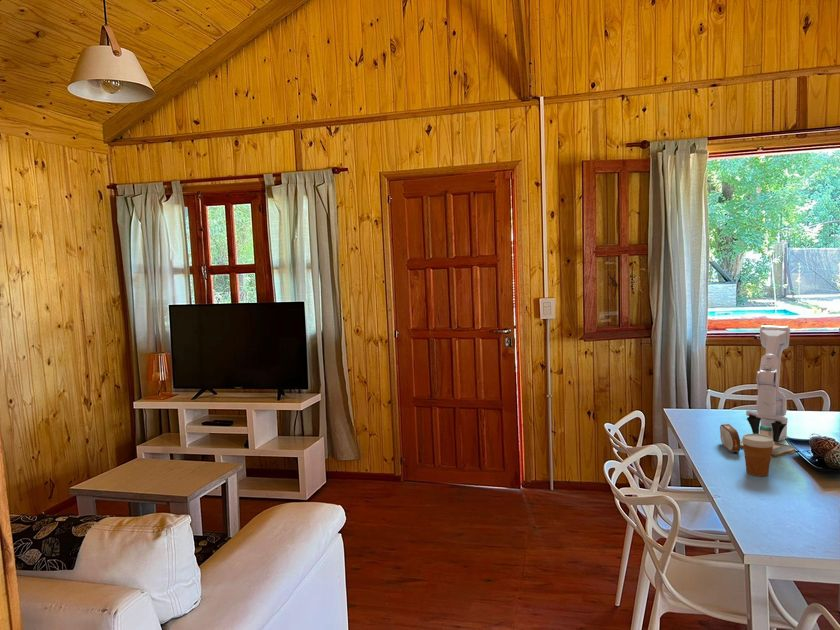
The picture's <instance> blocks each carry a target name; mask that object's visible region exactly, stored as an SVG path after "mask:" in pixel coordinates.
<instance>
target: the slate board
mask: <svg viewBox="0 0 840 630" xmlns="http://www.w3.org/2000/svg"><path fill="white" fill-rule="evenodd" d="M774 443H775V444H774V446H773V449H772V454H771V458H774V459H775V458H776V459H777V458H781V457H783V456H786V455H790V454H794V453H796V452H795V448H794V447H795V446H794V445H789V444H784V443H781V442H779V441H777V442H774ZM740 449H742V450H744V447H743V443H742V440H740Z"/></svg>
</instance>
